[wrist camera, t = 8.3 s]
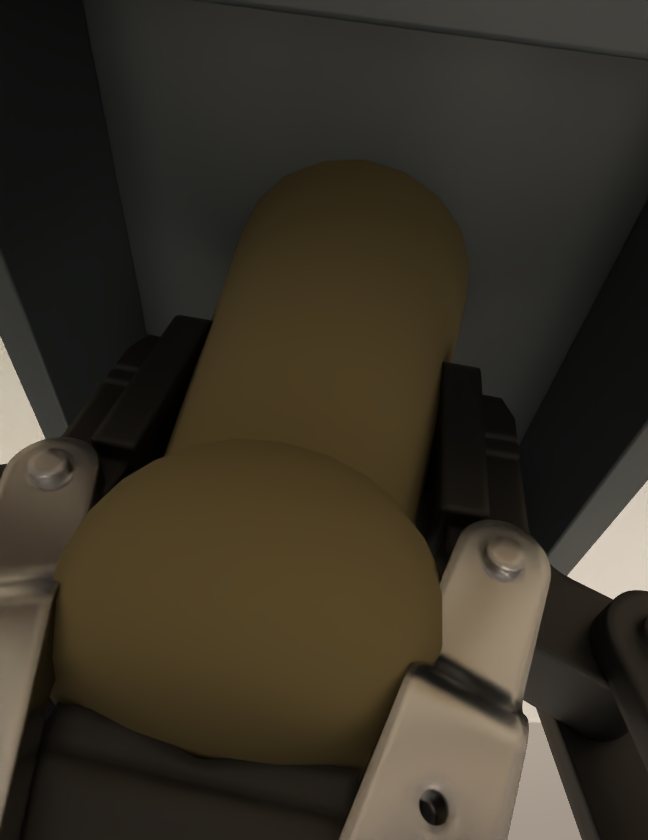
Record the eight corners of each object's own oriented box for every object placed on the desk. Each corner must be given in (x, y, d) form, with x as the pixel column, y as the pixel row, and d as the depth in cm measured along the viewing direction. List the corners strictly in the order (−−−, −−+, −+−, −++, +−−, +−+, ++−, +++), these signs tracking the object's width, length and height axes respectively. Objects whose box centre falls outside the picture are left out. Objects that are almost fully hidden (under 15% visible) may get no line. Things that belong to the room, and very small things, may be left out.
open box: (37, -118, 10) (-212, -140, 6) (800, -28, 9) (1046, 13, 5) (150, 408, 19) (81, 521, 16) (518, 478, 18) (534, 615, 15)
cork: (503, 178, 11) (619, 785, 3) (439, 389, 15) (425, 870, 8) (230, 141, 12) (-222, 599, 4) (242, 355, 16) (40, 777, 8)
